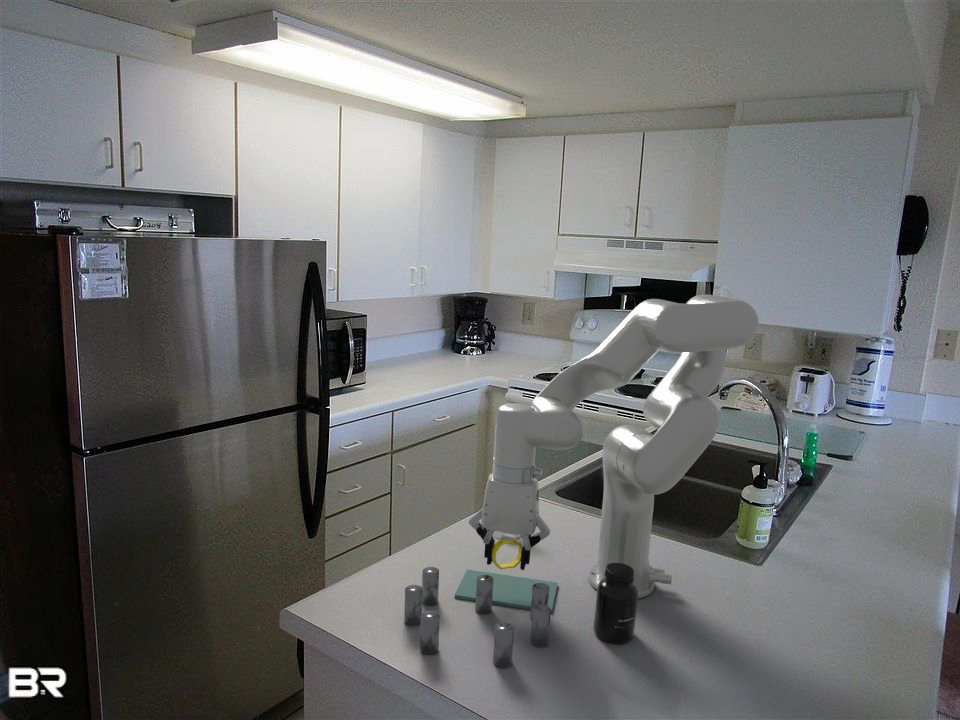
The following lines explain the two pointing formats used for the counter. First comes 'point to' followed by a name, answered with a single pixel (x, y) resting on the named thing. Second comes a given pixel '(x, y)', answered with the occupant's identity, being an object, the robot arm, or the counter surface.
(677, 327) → the robot arm
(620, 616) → the supplement bottle
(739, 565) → the counter surface
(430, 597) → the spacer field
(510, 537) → the watch
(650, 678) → the counter surface
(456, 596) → the mat
